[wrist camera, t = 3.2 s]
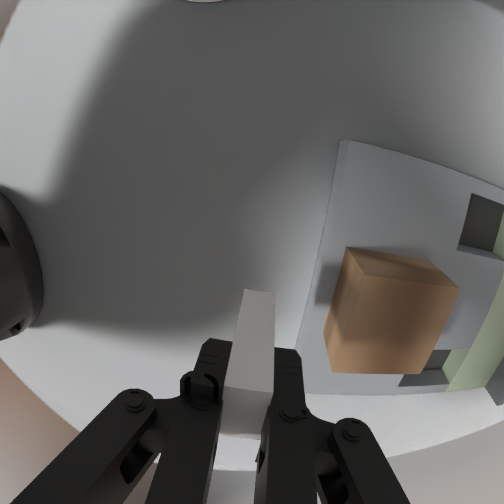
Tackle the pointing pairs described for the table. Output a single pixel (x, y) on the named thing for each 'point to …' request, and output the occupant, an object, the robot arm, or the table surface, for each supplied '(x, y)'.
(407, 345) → the block
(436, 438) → the table surface
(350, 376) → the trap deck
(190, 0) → the mug
